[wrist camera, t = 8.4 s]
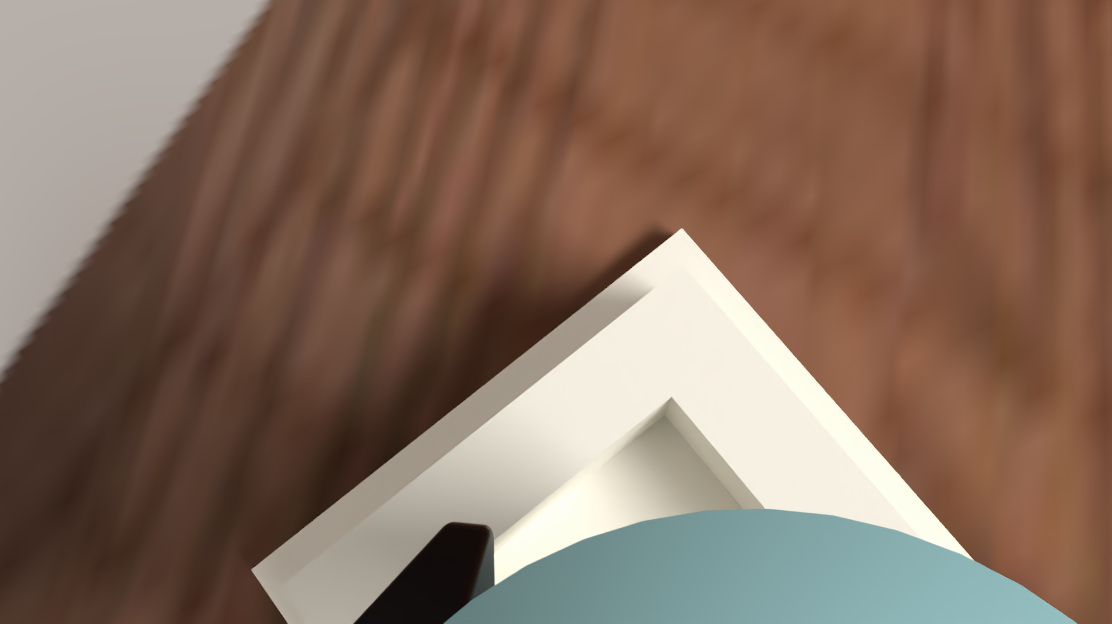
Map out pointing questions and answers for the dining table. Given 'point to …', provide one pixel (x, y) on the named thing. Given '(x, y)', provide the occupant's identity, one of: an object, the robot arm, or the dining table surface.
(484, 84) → the dining table surface
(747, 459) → the socket
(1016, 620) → the blue cylinder
